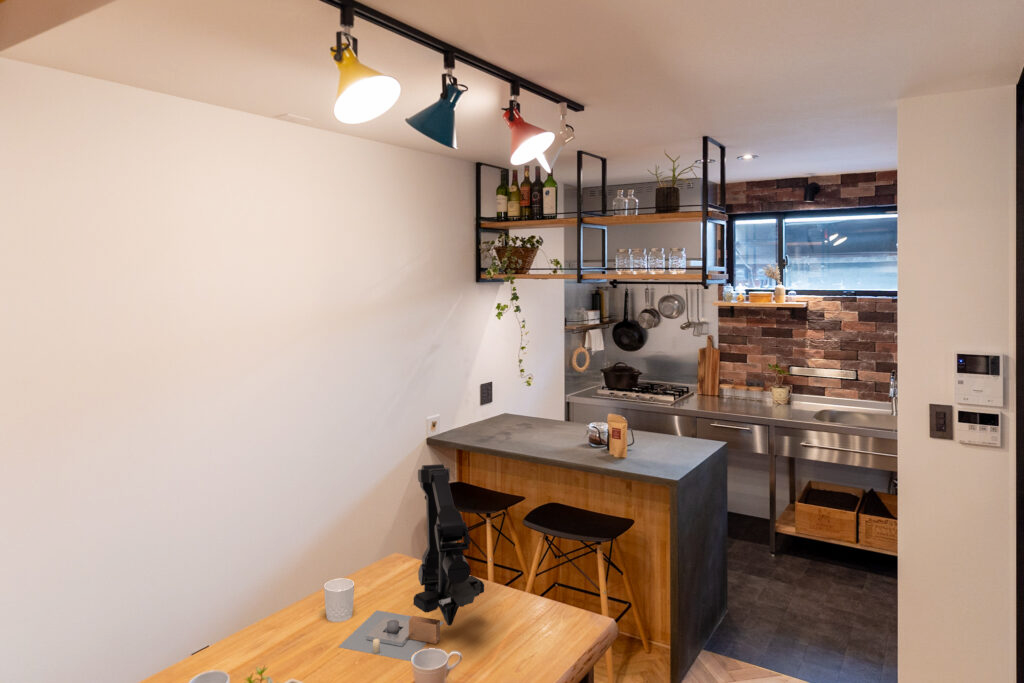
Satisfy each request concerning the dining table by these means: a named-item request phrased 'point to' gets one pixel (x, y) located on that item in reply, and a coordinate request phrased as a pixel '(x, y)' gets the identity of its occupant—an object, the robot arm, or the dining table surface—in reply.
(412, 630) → the flange plate
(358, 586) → the dining table surface
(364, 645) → the slate board
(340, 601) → the white cup
